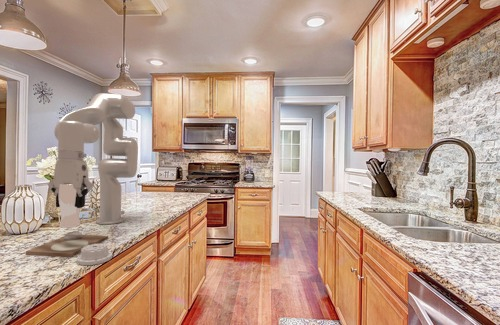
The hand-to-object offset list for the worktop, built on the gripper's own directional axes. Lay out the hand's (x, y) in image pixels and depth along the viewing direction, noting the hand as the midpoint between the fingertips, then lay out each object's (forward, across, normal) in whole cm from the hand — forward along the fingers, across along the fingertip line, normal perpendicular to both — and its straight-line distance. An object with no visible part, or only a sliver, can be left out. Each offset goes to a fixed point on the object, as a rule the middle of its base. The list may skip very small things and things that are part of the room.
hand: (70, 206), depth 95 cm
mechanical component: (+16, -14, +8) cm, 22 cm away
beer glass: (+7, 0, 0) cm, 7 cm away
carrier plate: (+15, +2, -3) cm, 16 cm away
